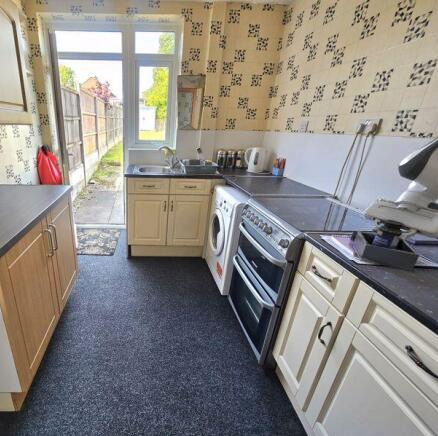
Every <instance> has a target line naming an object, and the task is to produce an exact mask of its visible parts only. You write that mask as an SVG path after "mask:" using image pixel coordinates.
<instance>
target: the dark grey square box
mask: <svg viewBox="0 0 438 436" xmlns="http://www.w3.org/2000/svg"><path fill="white" fill-rule="evenodd" d="M376 234H377V233H371V232H365V231H361V230H358V231H357V233H356V236H355V239H354V241H353V244H352V246H353V248H354V251H355V253H356V254H357V257H358V258H359V260H360V261H363V262H368V263H372V264H377V265H382V266H386V267H390V268H395V269H399V270H404V271H409V272H413V270H414V267H415V265H416V263H417V261H418V259H419V257H420V254H419V252H418V251H416V250H415V249H414V248H413V246H411V244H410V243H409V242H408V241H407V239H406V240H405V241H401V240H399V241H398V244H397V246H396V248H395V249H390V248H384V247H379V246H374V245H372V243H373V241H374V238H375V236H376Z"/></svg>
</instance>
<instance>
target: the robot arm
mask: <svg viewBox="0 0 438 436" xmlns="http://www.w3.org/2000/svg"><path fill="white" fill-rule="evenodd" d="M397 169H398V170H397V171H398V173H399V176H400V177H402V178H404V179H406V180H409V181H411V182H410V183H409V185H408V187H407V189H406V190H404V191H403V192H402V193H401V194H400V195H399V197H398V198H397V199H396V200H395V201H393V200H387V199H384V198H380V199H374V200H373V201H372V203H370V205H369V206H368V207H367V208H366V209H365V210H364V211H363V216H364V218H365V219H366V220H369V221H371V222H374V226H373V227H372V230H371V231H372V232H373V233H375V234H377V231H378V229H379V227H380V226H381V224H382V225H384V221H385V220H394V221H398V222H401V223H403V226H402V228H400V230H402V231H407V233H405V234H404V233H402V234H401V235H400V236H399V238H398V239H399V240H401V241H405V240H406V241H407V239H409V238H411V237H415V236H416V235H419V236H424V237H427V238H430V239H435V238H438V203H437V201H438V136H437V137H435V138H433V140H431V141H429V142H428V143H427V144H424V146H422V147H420V148H418V149H417V150H415V151H413V152H412V153H409V154H408V155H407V156H405V157H404V158H403V159H401V161H400V162H399V164H398V165H397Z"/></svg>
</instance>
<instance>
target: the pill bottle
mask: <svg viewBox="0 0 438 436" xmlns="http://www.w3.org/2000/svg"><path fill="white" fill-rule="evenodd" d="M402 226H403V223H401V222H398V221H394V220H385V221H384V224H382V225H379V226H378V227H379V229H378V231H377V233H375V234H376V236H375V238H374V241H373V243H372V245H374V246H379V247H384V248H390V249H395V248H396V246H397V244H398V241H399V239H398V238H399V236H400V235H401V234H403V230H402V229H400V228H402Z"/></svg>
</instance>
